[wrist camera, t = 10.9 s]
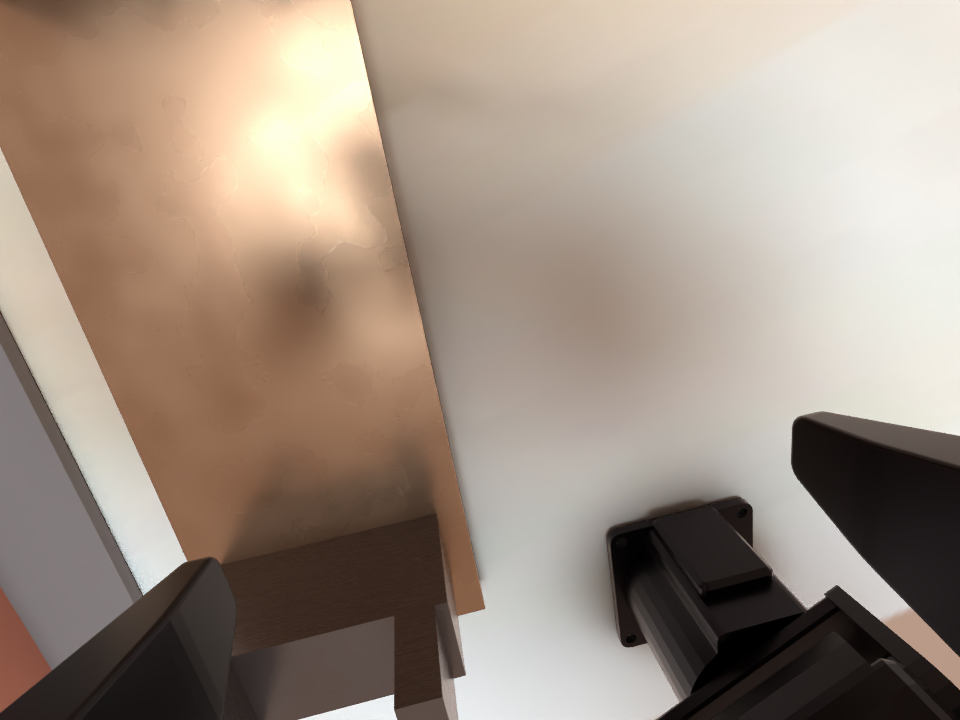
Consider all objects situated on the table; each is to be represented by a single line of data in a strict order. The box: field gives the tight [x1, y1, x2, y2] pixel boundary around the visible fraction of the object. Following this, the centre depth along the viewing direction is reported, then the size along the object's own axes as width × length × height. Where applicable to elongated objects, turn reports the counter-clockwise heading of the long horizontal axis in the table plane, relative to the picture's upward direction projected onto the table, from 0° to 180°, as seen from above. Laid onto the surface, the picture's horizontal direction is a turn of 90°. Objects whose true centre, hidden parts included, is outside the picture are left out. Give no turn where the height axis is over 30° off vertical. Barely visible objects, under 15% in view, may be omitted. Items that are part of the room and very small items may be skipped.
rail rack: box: [0, 0, 485, 720], centre depth 14 cm, size 28×10×9 cm, turn 10°
